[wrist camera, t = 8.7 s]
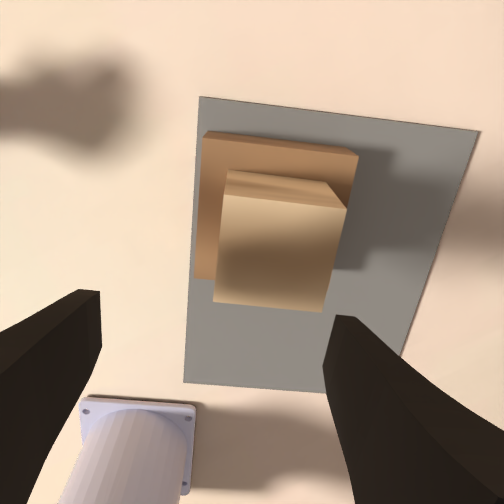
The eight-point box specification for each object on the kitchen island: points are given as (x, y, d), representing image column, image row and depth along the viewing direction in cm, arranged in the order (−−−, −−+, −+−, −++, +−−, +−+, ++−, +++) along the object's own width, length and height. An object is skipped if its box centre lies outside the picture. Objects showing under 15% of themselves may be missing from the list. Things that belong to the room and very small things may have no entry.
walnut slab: (319, 268, 22) (327, 290, 20) (199, 257, 22) (193, 278, 19) (345, 147, 19) (359, 156, 17) (207, 130, 19) (202, 137, 16)
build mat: (383, 394, 27) (384, 397, 26) (183, 379, 26) (183, 382, 26) (475, 130, 19) (478, 131, 19) (199, 96, 18) (199, 96, 18)
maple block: (307, 268, 19) (321, 312, 16) (218, 258, 19) (212, 301, 15) (325, 181, 17) (347, 209, 14) (228, 169, 17) (223, 194, 13)
